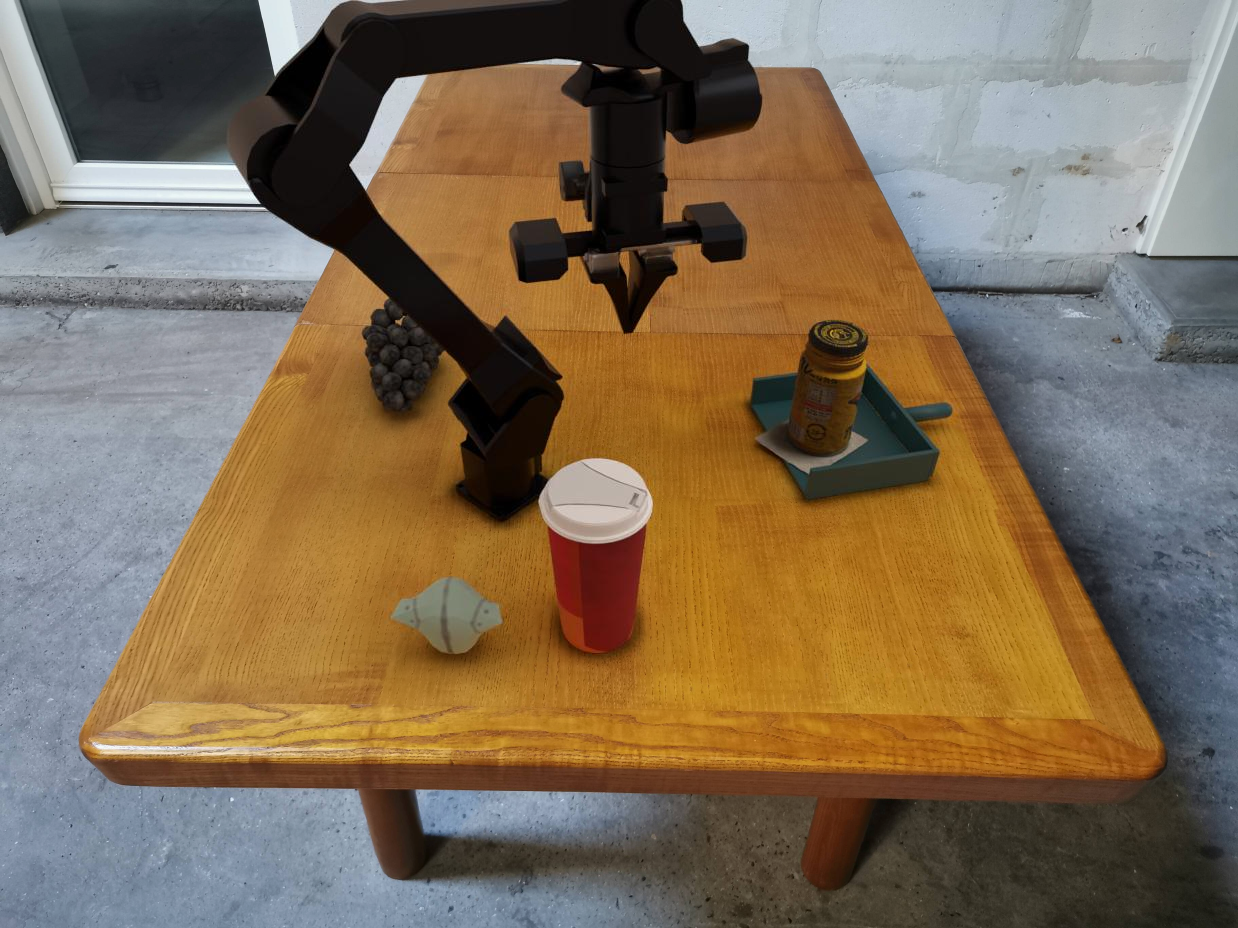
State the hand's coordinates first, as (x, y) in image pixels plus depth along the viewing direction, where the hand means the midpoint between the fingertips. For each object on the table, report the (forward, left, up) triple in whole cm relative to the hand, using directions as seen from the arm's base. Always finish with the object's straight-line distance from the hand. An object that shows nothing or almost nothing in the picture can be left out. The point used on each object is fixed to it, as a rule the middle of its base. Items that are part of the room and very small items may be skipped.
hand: (627, 331), depth 77 cm
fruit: (-8, +24, -13) cm, 29 cm away
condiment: (+13, -13, -13) cm, 22 cm away
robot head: (-27, -6, -13) cm, 31 cm away
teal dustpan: (+17, -16, -13) cm, 27 cm away
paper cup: (-18, -13, -13) cm, 26 cm away
